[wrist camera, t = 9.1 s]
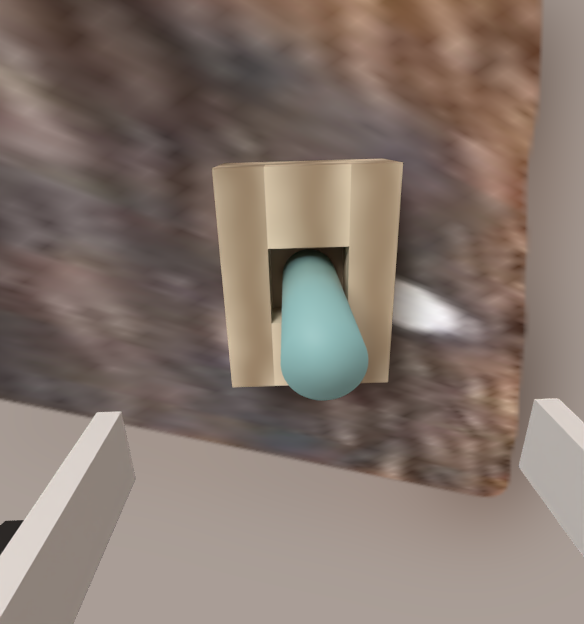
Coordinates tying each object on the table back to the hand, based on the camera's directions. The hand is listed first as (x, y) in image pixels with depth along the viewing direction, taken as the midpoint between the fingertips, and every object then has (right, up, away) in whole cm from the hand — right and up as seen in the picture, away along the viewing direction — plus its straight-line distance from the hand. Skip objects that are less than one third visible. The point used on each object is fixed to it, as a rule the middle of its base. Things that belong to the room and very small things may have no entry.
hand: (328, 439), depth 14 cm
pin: (0, +7, +19) cm, 20 cm away
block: (0, +8, +21) cm, 23 cm away
